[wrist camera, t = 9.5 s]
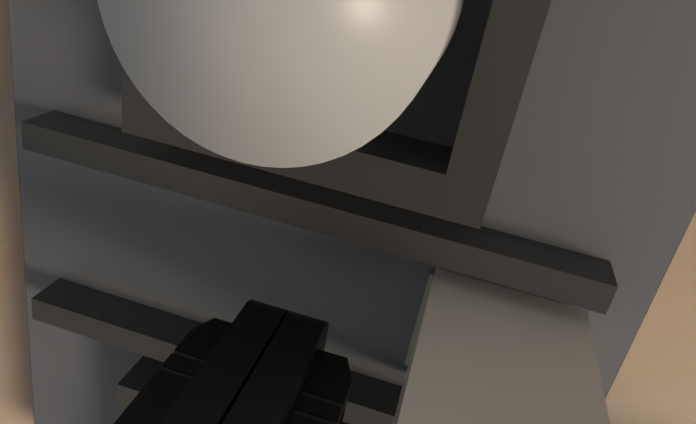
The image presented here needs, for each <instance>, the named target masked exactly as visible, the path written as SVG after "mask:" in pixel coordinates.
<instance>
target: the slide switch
mask: <svg viewBox="0 0 696 424" xmlns="http://www.w3.org/2000/svg"><path fill="white" fill-rule="evenodd" d="M393 424H610V422H609V417H608V412H607V407H606V402H605V397H604V392H603V387H602V382H601V377H600V371H599V366H598V361H597V356H596V351H595V346H594V341H593V336H592V331H591V326H590V321H589V316H588V311H587V310H584V309H580V308H577V307H573V306H570V305H566V304H563V303H559V302H556V301H552V300H549V299H545V298H542V297H538V296H535V295H531V294H528V293H524V292H521V291H517V290H514V289H510V288H507V287H503V286H500V285H496V284H493V283H489V282H486V281H482V280H479V279H475V278H472V277H468V276H465V275H461V274H458V273H454V272H451V271H447V270H444V269H440V268H437V267H436V270H435V273H434V277H433V280H432V284H431V287H430V291H429V294H428V298H427V301H426V305H425V308H424V312H423V315H422V319H421V322H420V326H419V329H418V333H417V336H416V340H415V343H414V347H413V350H412V354H411V357H410V361H409V364H408V368H407V371H406V375H405V378H404V382H403V386H402V390H401V394H400V397H399V401H398V405H397V409H396V413H395V417H394V421H393Z"/></svg>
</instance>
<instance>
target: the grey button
mask: <svg viewBox="0 0 696 424" xmlns="http://www.w3.org/2000/svg"><path fill="white" fill-rule="evenodd" d="M97 2H98V6H99V10H100V13H101V17H102V21H103V24H104V27H105V29H106V32H107V34H108V37H109V40H110V42H111V45H112V47H113V49H114V51H115V53H116V55H117V57H118V59H119V61H120V63H121V65H122V67H123V68H124V70H125V72H126V73H127V75H128V76H129V78H130V79H131V81H132V82H133V84H134V85H135V87H136V88H137V89H138V91H139V92H140V93H141V94H142V96H143V97H144V98H145V99H146V101H147V102H148V103H149V104H150V105H151V106H152V107H153V108H154V109H155V110H156V111H157V112H158V113H159V114H160V115H161V116H162V117H163V118H164V119H165V120H166V121H167V122H168V123H169V124H170V125H172V126H173V127H174V128H175V129H177V130H178V131H179V132H180V133H182V134H183V135H184V136H186V137H188V138H189V139H191V140H192V141H194V142H195V143H197V144H199V145H200V146H202V147H204V148H206V149H208V150H210V151H212V152H214V153H216V154H219V155H221V156H224V157H227V158H229V159H232V160H235V161H238V162H242V163H246V164H251V165H256V166H261V167H274V168H291V167H304V166H309V165H315V164H320V163H324V162H327V161H330V160H333V159H336V158H339V157H342V156H344V155H346V154H348V153H350V152H352V151H354V150H356V149H358V148H360V147H362V146H364V145H365V144H366V143H368V142H369V141H371V140H372V139H374V138H375V137H376V136H378V135H379V134H381V133H382V132H383V131H384V130H385V129H386V128H387V127H388V126H390V125H391V124H392V123H393V122H394V121H395V120H396V119H397V118H398V117H399V116H400V115H401V113H402V112H403V111H404V110H405V109H406V107H407V106H408V105H409V104H410V103H411V101H412V100H413V99H414V97H415V96H416V94H417V93H418V91H419V90H420V88H421V87H422V85H423V84H424V82H425V81H426V80H427V78H428V77H429V75H430V74H431V72H432V71H433V69H434V68H435V66H436V65H437V63H438V62H439V60H440V58H441V57H442V55H443V54H444V52H445V50H446V49H447V47H448V45H449V43H450V40H451V38H452V36H453V34H454V32H455V30H456V26H457V23H458V20H459V17H460V14H461V11H462V6H463V0H97Z"/></svg>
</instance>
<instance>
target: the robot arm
mask: <svg viewBox="0 0 696 424" xmlns="http://www.w3.org/2000/svg"><path fill="white" fill-rule="evenodd" d="M328 328H329V322H326V321H323V320H320V319H316V318H313V317H310V316H306V315H303V314H300V313H296V312H293V311H289V310H286V309H282V308H279V307H276V306H272V305H269V304H266V303H262V302H259V301H256V300H252V299H250V300H249V301H248V302H247V303H246V304H245V305H244V307H243V308H242V310H241V311H240V312H239V314H238V315H237V316H236V318H235V319H234V320H233V322H232V323H231V322H227V321H224V320H221V319H218V318H212V319H210V320H209V321H207V322H205V323H203V324H201V325H199V326H197V327H196V328H194V329H192V330H190V331H189V332H188V334H187V335H186V336H185V337H184V339H183V340H182V341H181V342H180V343H179V345H178V346H177V347H176V348H175V350H174V353H173V354H172V353H171V354H170V356H169V357H168V358H167V359H166V360H165V362H164V363H163V364H162V366H161V369H160V370H159V369H158V370H157V371H156V373H155V374H154V375H153V376H152V377H151V379H150V380H149V381H148V382H147V384H146V385H145V386H144V387H143V388H142V390H141V391H140V392H139V393H138V395H137V396H136V397H135V398H134V399H133V401H132V402H131V403H130V404H129V405H128V407H127V408H126V409H125V410H124V412H123V413H122V414H121V415H120V416H119V418H118V419H117V420H116V421H115V422H114V424H342V421H343V417H344V413H345V408H346V404H347V400H348V396H349V391H350V387H351V383H352V378H351V373H350V368H349V363H348V358H346V357H343V356H339V355H336V354H333V353H329V352H326V351H324V348H325V343H326V338H327V334H328Z"/></svg>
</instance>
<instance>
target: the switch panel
mask: <svg viewBox="0 0 696 424" xmlns="http://www.w3.org/2000/svg"><path fill="white" fill-rule="evenodd" d="M8 8H9V24H10V40H11V56H12V72H13V88H14V104H15V120H16V136H17V152H18V168H19V184H20V200H21V216H22V232H23V248H24V264H25V280H26V296H27V312H28V328H29V344H30V360H31V376H32V392H33V408H34V424H114V422H115V421H116V420H117V419H118V418H119V416H120V415H121V414H122V413H123V412H124V410H125V409H126V408H127V407H128V405H129V404H130V403H131V402H132V401H133V399H134V398H135V397H136V396H137V395H138V393H139V392H140V391H141V390H142V388H143V387H144V386H145V385H146V384H147V382H148V381H149V380H150V379H151V377H152V376H153V375H154V374H155V373H156V371H157V370H158V369H159V370H160V369H161V366H162V364H163V363H164V362H165V360H166V359H167V358H168V357H169V356H170V354H171V353H172V354H173V353H174V350H175V348H176V347H177V346H178V345H179V343H180V342H181V341H182V340H183V339H184V337H185V336H186V335H187V334H188V332H189V331H190V330H192V329H194V328H196V327H197V326H199V325H201V324H203V323H205V322H207V321H209V320H210V319H212V318H218V319H221V320H224V321H227V322H231V323H232V322H233V320H234V319H235V318H236V316H237V315H238V314H239V312H240V311H241V310H242V308H243V307H244V305H245V304H246V303H247V302H248V301H249V300H250V299H252V300H256V301H259V302H262V303H266V304H269V305H272V306H276V307H279V308H282V309H286V310H289V311H293V312H296V313H300V314H303V315H306V316H310V317H313V318H316V319H320V320H323V321H326V322H329V328H328V334H327V338H326V343H325V348H324V351H326V352H329V353H333V354H336V355H339V356H343V357H346V358H348V363H349V368H350V373H351V378H352V383H351V387H350V391H349V396H348V400H347V404H346V408H345V413H344V417H343V421H342V424H393V421H394V417H395V413H396V409H397V405H398V401H399V397H400V394H401V390H402V386H403V382H404V378H405V375H406V371H407V368H408V364H409V361H410V357H411V354H412V350H413V347H414V343H415V340H416V336H417V333H418V329H419V326H420V322H421V319H422V315H423V312H424V308H425V305H426V301H427V298H428V294H429V291H430V287H431V284H432V280H433V277H434V273H435V270H436V267H437V268H440V269H444V270H447V271H451V272H454V273H458V274H461V275H465V276H468V277H472V278H475V279H479V280H482V281H486V282H489V283H493V284H496V285H500V286H503V287H507V288H510V289H514V290H517V291H521V292H524V293H528V294H531V295H535V296H538V297H542V298H545V299H549V300H552V301H556V302H559V303H563V304H566V305H570V306H573V307H577V308H580V309H584V310H587V311H588V316H589V321H590V326H591V331H592V336H593V341H594V346H595V351H596V356H597V361H598V366H599V371H600V377H601V382H602V387H603V392H604V397H605V398H606V396H607V394H608V392H609V390H610V388H611V386H612V384H613V382H614V380H615V378H616V376H617V373H618V371H619V369H620V367H621V365H622V363H623V361H624V359H625V357H626V355H627V353H628V351H629V349H630V346H631V344H632V342H633V340H634V338H635V336H636V334H637V332H638V330H639V328H640V326H641V324H642V321H643V319H644V317H645V315H646V313H647V311H648V309H649V307H650V305H651V303H652V301H653V299H654V297H655V294H656V292H657V290H658V288H659V286H660V284H661V282H662V280H663V278H664V276H665V274H666V272H667V270H668V267H669V265H670V263H671V261H672V259H673V257H674V255H675V253H676V251H677V249H678V247H679V245H680V243H681V240H682V238H683V236H684V234H685V232H686V230H687V228H688V226H689V224H690V222H691V220H692V218H693V215H694V213H695V211H696V0H463V6H462V11H461V14H460V17H459V20H458V23H457V26H456V30H455V32H454V34H453V36H452V38H451V40H450V43H449V45H448V47H447V49H446V50H445V52H444V54H443V55H442V57H441V58H440V60H439V62H438V63H437V65H436V66H435V68H434V69H433V71H432V72H431V74H430V75H429V77H428V78H427V80H426V81H425V82H424V84H423V85H422V87H421V88H420V90H419V91H418V93H417V94H416V96H415V97H414V99H413V100H412V101H411V103H410V104H409V105H408V106H407V107H406V109H405V110H404V111H403V112H402V113H401V115H400V116H399V117H398V118H397V119H396V120H395V121H394V122H393V123H392V124H391V125H390V126H388V127H387V128H386V129H385V130H384V131H383V132H382V133H381V134H379V135H378V136H376V137H375V138H374V139H372V140H371V141H369V142H368V143H366V144H365V145H364V146H362V147H360V148H358V149H356V150H354V151H352V152H350V153H348V154H346V155H344V156H342V157H339V158H336V159H333V160H330V161H327V162H324V163H320V164H315V165H309V166H304V167H291V168H274V167H261V166H256V165H251V164H246V163H242V162H238V161H235V160H232V159H229V158H227V157H224V156H221V155H219V154H216V153H214V152H212V151H210V150H208V149H206V148H204V147H202V146H200V145H199V144H197V143H195V142H194V141H192V140H191V139H189V138H188V137H186V136H184V135H183V134H182V133H180V132H179V131H178V130H177V129H175V128H174V127H173V126H172V125H170V124H169V123H168V122H167V121H166V120H165V119H164V118H163V117H162V116H161V115H160V114H159V113H158V112H157V111H156V110H155V109H154V108H153V107H152V106H151V105H150V104H149V103H148V102H147V101H146V99H145V98H144V97H143V96H142V94H141V93H140V92H139V91H138V89H137V88H136V87H135V85H134V84H133V82H132V81H131V79H130V78H129V76H128V75H127V73H126V72H125V70H124V68H123V67H122V65H121V63H120V61H119V59H118V57H117V55H116V53H115V51H114V49H113V47H112V45H111V42H110V40H109V37H108V34H107V32H106V29H105V27H104V24H103V21H102V17H101V13H100V10H99V6H98V2H97V0H8Z"/></svg>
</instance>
